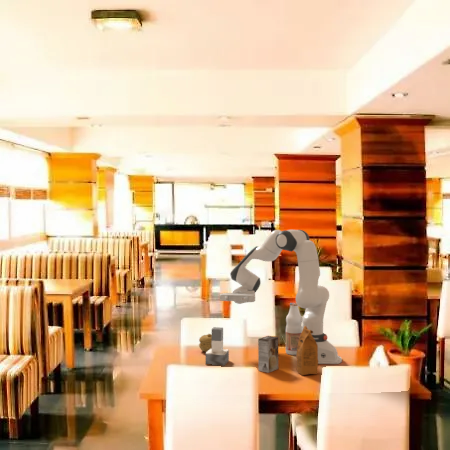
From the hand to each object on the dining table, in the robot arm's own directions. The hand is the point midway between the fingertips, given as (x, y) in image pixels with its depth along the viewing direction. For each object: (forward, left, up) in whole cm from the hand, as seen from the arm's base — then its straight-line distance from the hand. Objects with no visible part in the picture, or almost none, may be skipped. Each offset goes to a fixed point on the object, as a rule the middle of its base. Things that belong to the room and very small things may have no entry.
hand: (234, 299), depth 307 cm
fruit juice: (-31, -12, -31) cm, 46 cm away
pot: (+16, -5, -31) cm, 35 cm away
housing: (+6, +17, -25) cm, 31 cm away
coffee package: (-41, +24, -31) cm, 57 cm away
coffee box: (-22, +24, -31) cm, 45 cm away
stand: (+6, +17, -31) cm, 36 cm away
